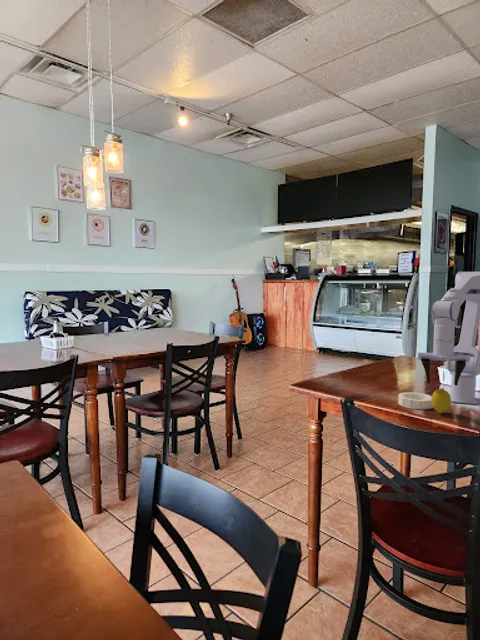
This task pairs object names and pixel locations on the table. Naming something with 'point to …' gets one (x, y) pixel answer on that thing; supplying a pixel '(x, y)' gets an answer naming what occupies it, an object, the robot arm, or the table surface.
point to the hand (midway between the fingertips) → (441, 383)
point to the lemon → (441, 400)
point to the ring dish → (415, 400)
